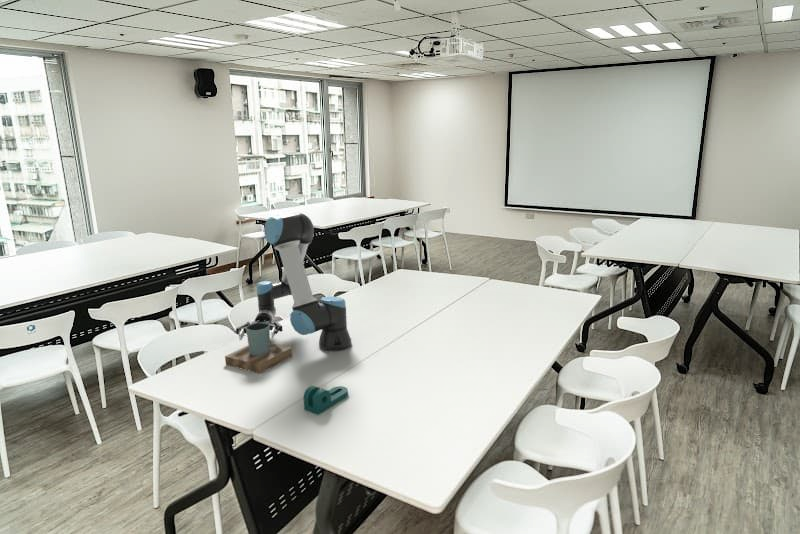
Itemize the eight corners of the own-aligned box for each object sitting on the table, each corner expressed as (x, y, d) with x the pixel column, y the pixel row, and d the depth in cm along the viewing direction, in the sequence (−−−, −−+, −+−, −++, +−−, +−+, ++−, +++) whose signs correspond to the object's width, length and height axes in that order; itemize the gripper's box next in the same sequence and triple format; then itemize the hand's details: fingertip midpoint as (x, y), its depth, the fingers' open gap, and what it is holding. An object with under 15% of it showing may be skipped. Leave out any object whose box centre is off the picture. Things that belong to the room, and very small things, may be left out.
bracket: (318, 415, 175) (316, 395, 173) (304, 410, 179) (302, 390, 177) (351, 394, 190) (350, 375, 188) (338, 390, 193) (337, 371, 192)
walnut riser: (292, 355, 226) (291, 347, 225) (260, 373, 209) (259, 364, 208) (259, 348, 235) (258, 340, 234) (225, 364, 218) (224, 356, 217)
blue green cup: (250, 358, 214) (248, 331, 211) (245, 349, 223) (243, 324, 220) (274, 353, 219) (272, 327, 216) (268, 345, 228) (266, 320, 225)
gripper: (291, 325, 240) (286, 342, 219) (237, 328, 237) (227, 346, 217) (290, 310, 238) (285, 326, 218) (236, 313, 236) (225, 329, 215)
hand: (256, 336), depth 217 cm, fingers open, 13 cm apart
